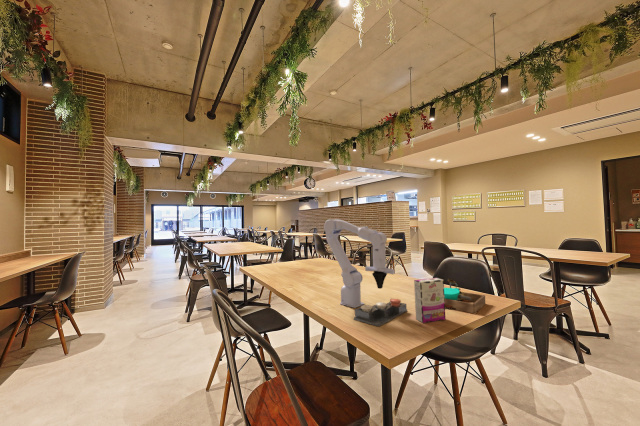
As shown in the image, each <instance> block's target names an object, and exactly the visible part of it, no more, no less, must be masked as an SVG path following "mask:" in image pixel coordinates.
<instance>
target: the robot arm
mask: <svg viewBox="0 0 640 426" xmlns="http://www.w3.org/2000/svg"><path fill="white" fill-rule="evenodd" d="M323 230H324V232H325V239H326V242H327V244H328V246H329V248H330V249H331V252H332V254H333V256H334V257H335V259H336V261H337V263H338V265H339V267H340V269H341V275H340V276H341V277H342V282H343V286H342V287H341V289H340V303H339V304H340V305H343V306H345V307H349V308H350V307H351V308H353V309H357V308H360V307H361V306H362V305H365V302H362V298H361V297H362V296H361V293H362V291H361V284H362V282H363V274H362V273H361V272H360V271H358V269H357V267H355V266H353V264H352V263H351V261H350V259H349V257H348V255H347V254H346V252H345V250H344V248H343V246H342V244H341V242H340V241H339V239H338V238H339V235H340V234H341V232H342V231H343V230H346V231H348V232H351V233H354V234H357V236H358V238H360V239H362V240H365V241H367V242H368V243H369V242H370V243H371V245H372V266H365V268H364V270H365V271H366V272H373V273H371V274H372V277H373V278H374V281H375V282H376V283H375V284H376V286H377V287H376V288H377V289H383V286H384V283H385V280H386V277H387V275H388V274H389V275H395V274H396V271H395V270H396V269H395V268H390V267H387V263H386V262H387V261H386V258H387V257H386V242H387V239H388V237H387V235H386V234H385V233H384V232H383V231H380V232H378V230H377V229H374V230H373V229H372V228H369V226H367V225H366V226H361V227H360V226H357V225H355V224H352V223H350V222H348V221H345V220H343V219H340V218H337V219H335V218H334V219H330V218H329V219H328V218H327V220H325V222H324V225H323Z"/></svg>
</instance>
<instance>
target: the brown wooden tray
mask: <svg viewBox="0 0 640 426" xmlns="http://www.w3.org/2000/svg"><path fill="white" fill-rule="evenodd" d="M462 292H463V293H464V296H468V297H471V300H467V301H469V302H470V303H467V302H461V301H456V300H450V299H444V300H445V305H449V306H452V308H456V310H455V309H453V310H455V311H460V312H465V313H470V314H474V313H476V312H477V311H478V312H479V311H480V310H481V309H482V308H483V307H484V306H485V305H486V295H485V294H478V293H474V292H473V293H471V292H465V291H462ZM463 300H464V299H463ZM465 300H466V299H465ZM476 314H477V313H476Z"/></svg>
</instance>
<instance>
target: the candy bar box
mask: <svg viewBox="0 0 640 426" xmlns="http://www.w3.org/2000/svg"><path fill="white" fill-rule="evenodd" d="M444 281H445V280H444V279H442V278H439V277H434V278H433V277H431V278H423V279H414V281H413V284H414V285H413V287H414V304H415V305H414V306H415V307H414V308H415V320H416V321H419V323H422V324H427V323H428V324H429V323H432V322H440V321H445V320H446V308H445V300H444V288H445V282H444Z"/></svg>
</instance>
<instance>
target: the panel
mask: <svg viewBox="0 0 640 426" xmlns="http://www.w3.org/2000/svg"><path fill="white" fill-rule="evenodd" d="M386 304H387V306H386V308H384V309H381V308H377V306H376V304H374V305H371V306H372V309H371V311H369V312H367V311H363V310H362V309H361V306H359V307H357V308H354V317H353V320H354V321H358V322H360V323H363V324H364V323H365V324H368V325H371V326H375V327H378V328H380V327H382V326H383V325H385V324H387V323H389V322H390V321H392V320H393V319H396V318H397V317H399V316H401V315H403V314H404V313H406V312H407V311H408V309H407V303H403V302H400V305H399V306H393V305H391V302H390V301H389V302H387V303H386Z"/></svg>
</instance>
